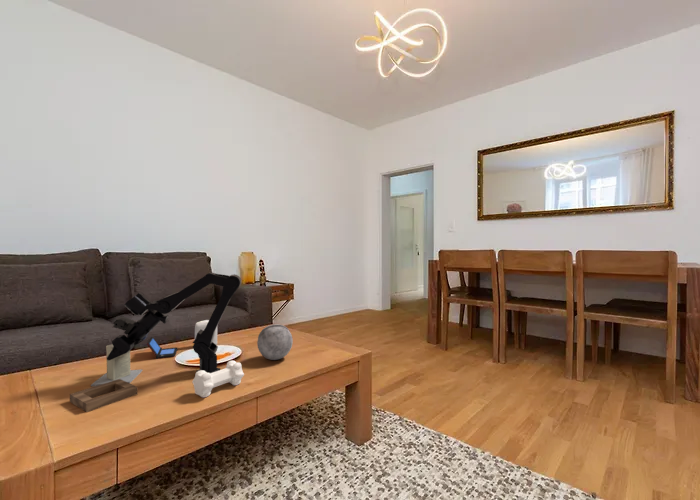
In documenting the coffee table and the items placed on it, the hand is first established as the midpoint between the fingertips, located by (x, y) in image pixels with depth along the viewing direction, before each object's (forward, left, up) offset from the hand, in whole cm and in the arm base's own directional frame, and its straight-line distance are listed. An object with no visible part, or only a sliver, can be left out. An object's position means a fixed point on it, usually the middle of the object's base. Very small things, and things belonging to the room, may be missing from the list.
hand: (113, 355), depth 123 cm
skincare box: (-1, -1, -8) cm, 8 cm away
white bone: (-40, -15, -9) cm, 44 cm away
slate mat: (-1, -1, -9) cm, 9 cm away
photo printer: (+7, -43, -9) cm, 45 cm away
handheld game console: (+12, -25, -9) cm, 29 cm away
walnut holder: (-15, +9, -9) cm, 19 cm away
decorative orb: (-35, -47, -9) cm, 59 cm away
